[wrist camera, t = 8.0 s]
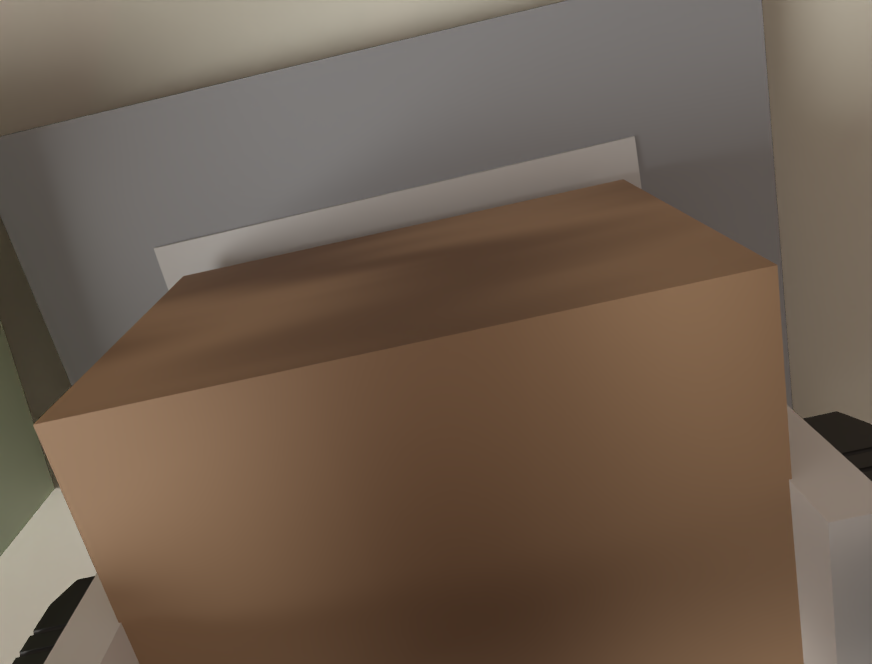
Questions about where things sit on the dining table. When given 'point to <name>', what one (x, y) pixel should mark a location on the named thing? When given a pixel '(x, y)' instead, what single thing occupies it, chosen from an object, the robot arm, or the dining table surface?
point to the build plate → (394, 152)
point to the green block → (18, 454)
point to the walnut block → (450, 449)
